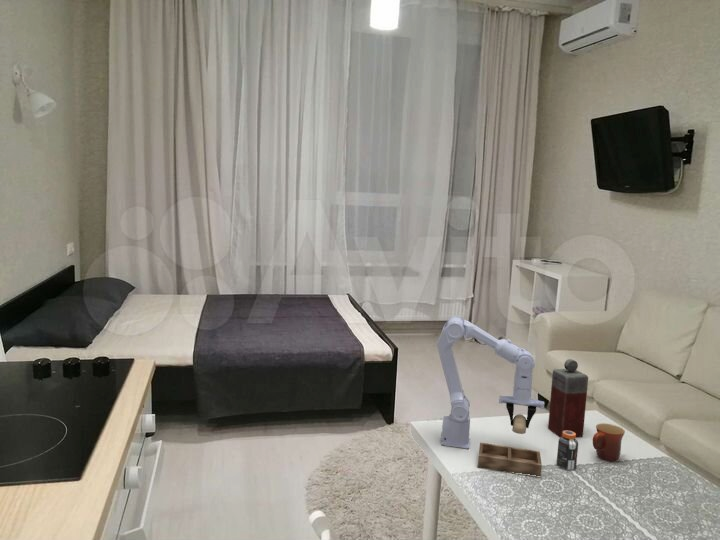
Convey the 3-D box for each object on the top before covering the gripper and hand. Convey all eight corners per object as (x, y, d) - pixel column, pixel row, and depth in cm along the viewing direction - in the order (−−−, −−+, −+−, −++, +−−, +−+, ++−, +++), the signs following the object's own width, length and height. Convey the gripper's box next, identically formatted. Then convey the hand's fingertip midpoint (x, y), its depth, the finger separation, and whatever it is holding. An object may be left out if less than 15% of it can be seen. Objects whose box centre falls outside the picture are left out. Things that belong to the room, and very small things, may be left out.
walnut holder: (477, 467, 167) (478, 455, 166) (479, 453, 176) (479, 442, 176) (540, 477, 162) (541, 465, 161) (538, 463, 172) (539, 451, 171)
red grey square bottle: (564, 424, 204) (570, 354, 201) (583, 437, 193) (590, 362, 190) (544, 426, 202) (550, 354, 199) (561, 438, 191) (568, 363, 188)
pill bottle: (577, 471, 167) (580, 437, 165) (558, 469, 168) (561, 435, 167) (574, 462, 173) (577, 429, 171) (555, 460, 174) (557, 427, 172)
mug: (604, 450, 183) (607, 421, 182) (627, 461, 175) (630, 431, 174) (580, 456, 178) (583, 427, 176) (603, 468, 170) (606, 437, 169)
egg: (512, 432, 178) (513, 416, 177) (512, 427, 182) (513, 411, 181) (526, 434, 176) (527, 418, 176) (525, 429, 181) (526, 413, 180)
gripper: (544, 385, 179) (541, 424, 181) (500, 380, 183) (497, 418, 185) (545, 392, 173) (542, 432, 174) (500, 387, 176) (497, 426, 178)
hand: (519, 425), depth 179 cm, fingers closed on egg, 4 cm apart
